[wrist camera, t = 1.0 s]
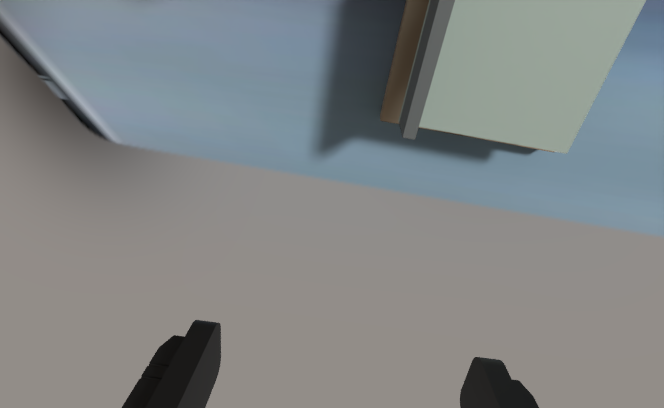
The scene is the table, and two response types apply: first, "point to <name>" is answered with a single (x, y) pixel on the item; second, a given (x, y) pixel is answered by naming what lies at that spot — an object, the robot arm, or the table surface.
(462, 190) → the table surface
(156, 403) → the robot arm
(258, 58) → the table surface
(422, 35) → the cover
